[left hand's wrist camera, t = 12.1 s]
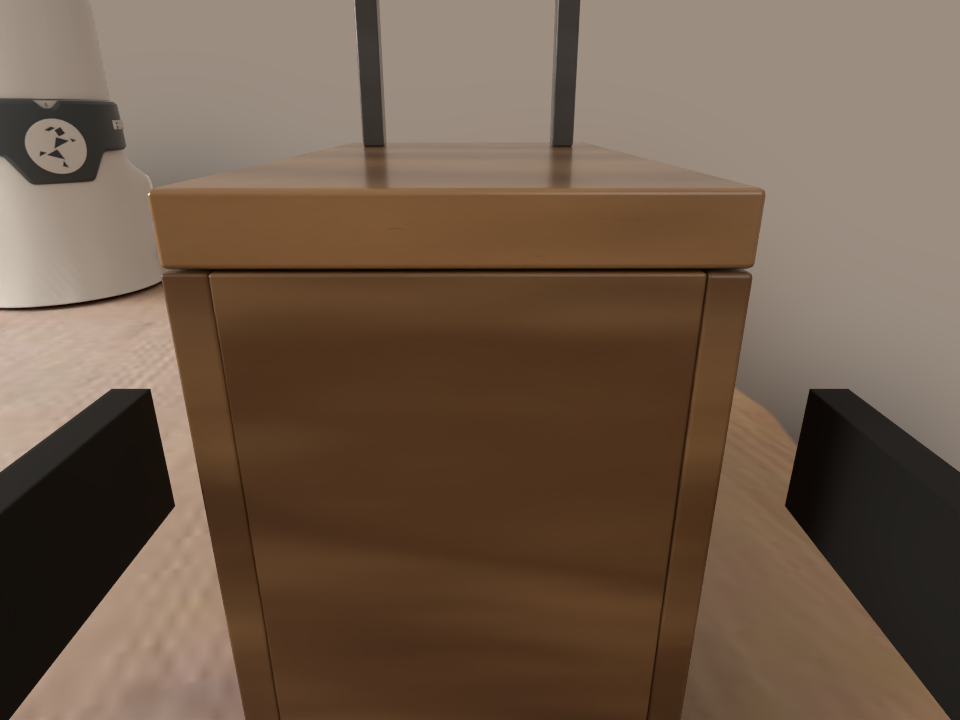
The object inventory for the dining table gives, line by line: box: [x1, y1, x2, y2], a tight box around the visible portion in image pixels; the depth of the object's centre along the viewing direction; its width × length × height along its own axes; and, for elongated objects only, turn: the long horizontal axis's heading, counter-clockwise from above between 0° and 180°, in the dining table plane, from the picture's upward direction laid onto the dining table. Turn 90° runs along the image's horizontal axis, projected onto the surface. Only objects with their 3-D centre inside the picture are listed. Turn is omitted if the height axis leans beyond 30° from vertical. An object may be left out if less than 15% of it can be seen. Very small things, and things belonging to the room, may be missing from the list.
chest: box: [161, 269, 752, 720], centre depth 19 cm, size 16×9×11 cm, turn 0°
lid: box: [147, 0, 765, 269], centre depth 15 cm, size 16×9×9 cm, turn 0°
